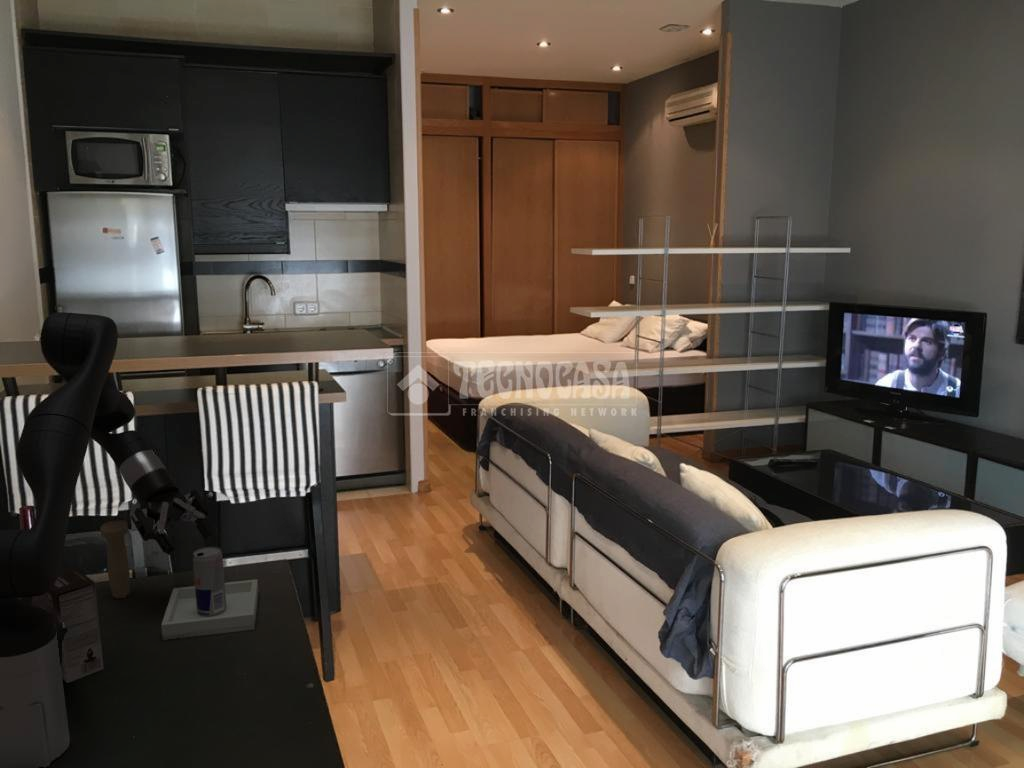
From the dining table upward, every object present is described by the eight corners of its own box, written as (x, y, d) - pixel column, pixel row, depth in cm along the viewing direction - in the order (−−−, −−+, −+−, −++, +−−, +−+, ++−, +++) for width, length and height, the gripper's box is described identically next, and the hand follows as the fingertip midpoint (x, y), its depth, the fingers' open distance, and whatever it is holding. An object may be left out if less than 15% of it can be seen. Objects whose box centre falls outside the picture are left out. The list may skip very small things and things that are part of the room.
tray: (254, 629, 156) (253, 614, 155) (162, 640, 152) (161, 625, 151) (258, 593, 171) (257, 579, 170) (174, 602, 167) (173, 588, 167)
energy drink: (196, 607, 162) (190, 549, 160) (225, 602, 165) (220, 544, 162) (198, 619, 158) (193, 559, 155) (228, 613, 160) (223, 554, 158)
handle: (134, 587, 174) (127, 519, 171) (133, 600, 168) (126, 529, 165) (109, 591, 172) (101, 522, 169) (107, 604, 166) (99, 533, 164)
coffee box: (45, 665, 144) (34, 577, 141) (84, 651, 148) (74, 566, 145) (66, 684, 138) (55, 593, 135) (106, 669, 142) (96, 580, 139)
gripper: (122, 477, 157) (167, 546, 154) (186, 458, 169) (229, 522, 166) (108, 499, 161) (151, 568, 157) (171, 480, 173) (213, 543, 169)
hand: (191, 544), depth 161 cm, fingers open, 8 cm apart
